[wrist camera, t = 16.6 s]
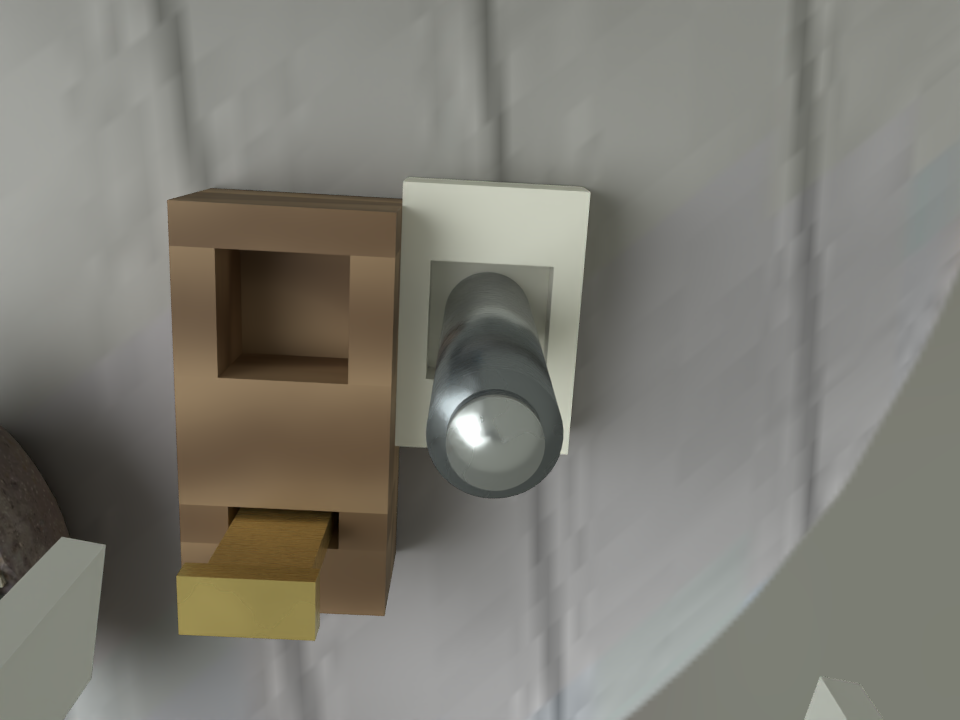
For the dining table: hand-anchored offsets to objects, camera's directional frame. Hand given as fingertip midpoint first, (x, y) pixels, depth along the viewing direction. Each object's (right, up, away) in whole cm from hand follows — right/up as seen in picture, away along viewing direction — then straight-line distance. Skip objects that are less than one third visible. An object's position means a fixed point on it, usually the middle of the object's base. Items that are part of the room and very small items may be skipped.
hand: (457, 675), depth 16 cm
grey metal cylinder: (+1, +8, +25) cm, 26 cm away
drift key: (-8, -1, +26) cm, 27 cm away
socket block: (-8, +5, +27) cm, 28 cm away
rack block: (+1, +8, +26) cm, 27 cm away
